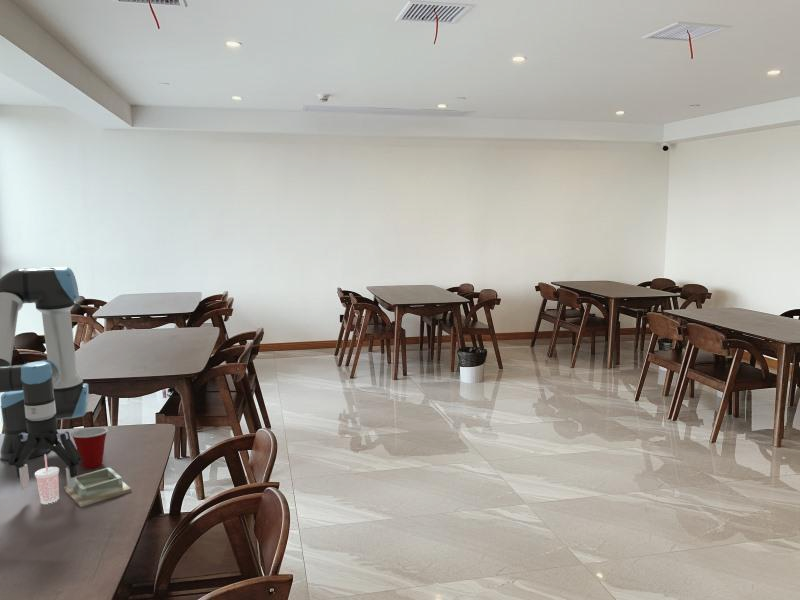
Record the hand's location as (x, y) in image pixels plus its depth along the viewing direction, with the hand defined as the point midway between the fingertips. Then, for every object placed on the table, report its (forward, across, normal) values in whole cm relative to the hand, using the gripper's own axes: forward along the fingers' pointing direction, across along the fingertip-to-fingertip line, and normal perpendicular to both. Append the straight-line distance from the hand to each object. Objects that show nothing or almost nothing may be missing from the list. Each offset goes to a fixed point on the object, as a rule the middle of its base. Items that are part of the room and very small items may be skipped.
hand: (48, 487), depth 177 cm
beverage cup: (+4, 0, 0) cm, 4 cm away
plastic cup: (+4, -1, +25) cm, 25 cm away
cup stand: (+4, +11, +6) cm, 13 cm away
